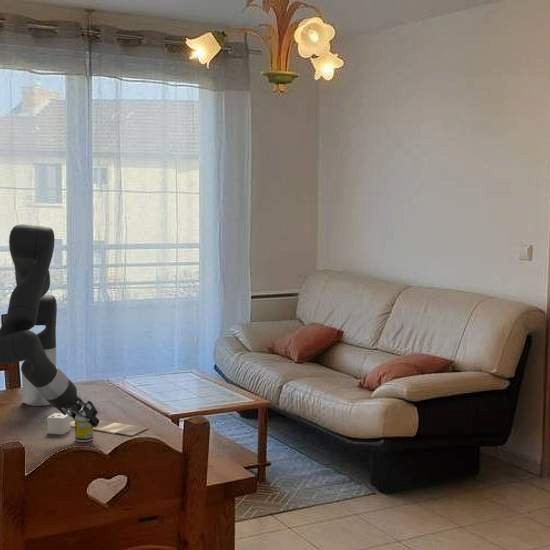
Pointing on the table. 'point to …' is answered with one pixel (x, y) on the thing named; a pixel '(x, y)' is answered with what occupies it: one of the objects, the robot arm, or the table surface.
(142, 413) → the table surface
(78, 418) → the supplement bottle
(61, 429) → the die
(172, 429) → the table surface
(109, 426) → the track
